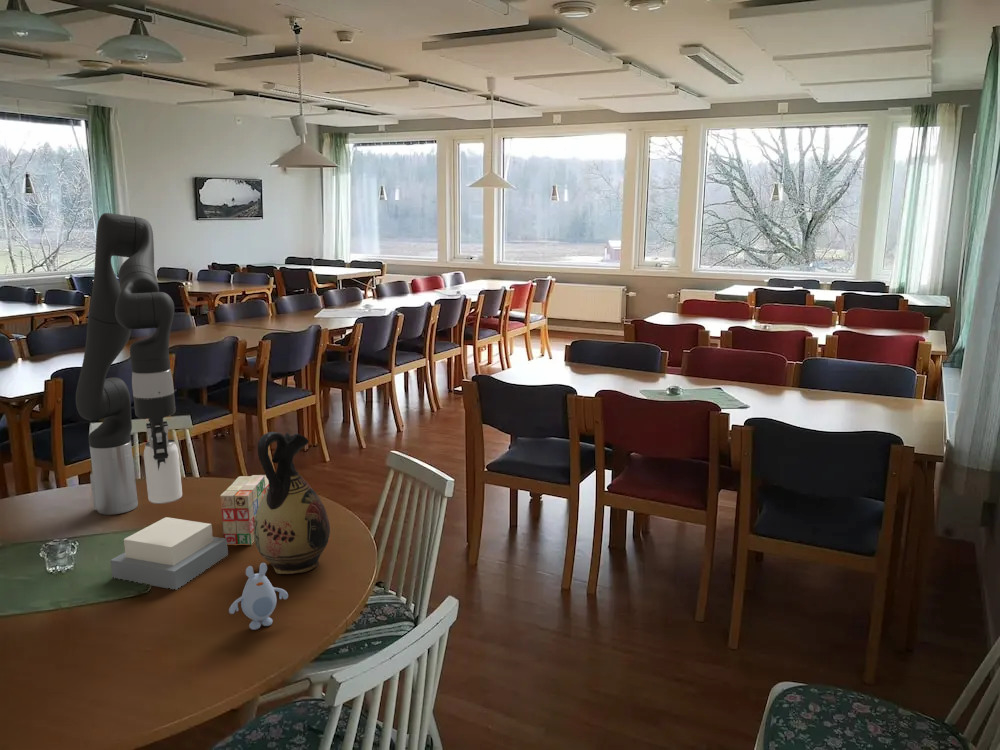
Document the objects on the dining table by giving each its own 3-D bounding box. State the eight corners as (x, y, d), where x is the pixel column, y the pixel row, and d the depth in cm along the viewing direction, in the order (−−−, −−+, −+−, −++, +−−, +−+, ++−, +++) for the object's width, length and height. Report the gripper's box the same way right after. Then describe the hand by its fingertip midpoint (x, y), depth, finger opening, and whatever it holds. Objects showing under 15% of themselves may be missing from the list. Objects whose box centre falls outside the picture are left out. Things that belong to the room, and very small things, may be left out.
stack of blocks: (255, 509, 193) (251, 463, 191) (279, 509, 193) (276, 463, 191) (224, 546, 173) (219, 494, 170) (251, 546, 172) (247, 494, 170)
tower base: (112, 578, 158) (108, 541, 156) (168, 545, 172) (165, 512, 171) (176, 590, 153) (172, 552, 151) (228, 555, 167) (225, 521, 166)
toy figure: (235, 642, 134) (230, 579, 132) (226, 626, 139) (221, 565, 137) (295, 624, 140) (291, 563, 137) (284, 609, 145) (280, 551, 142)
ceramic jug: (294, 543, 173) (285, 415, 167) (346, 558, 166) (339, 425, 159) (234, 574, 159) (222, 435, 153) (288, 592, 152) (279, 447, 145)
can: (188, 498, 159) (183, 441, 157) (157, 506, 154) (151, 448, 152) (173, 492, 163) (167, 437, 161) (142, 500, 158) (136, 443, 156)
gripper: (176, 397, 150) (184, 480, 153) (171, 382, 162) (178, 459, 166) (134, 402, 146) (143, 486, 150) (132, 386, 159) (140, 464, 163)
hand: (161, 471), depth 158 cm, fingers closed on can, 5 cm apart
